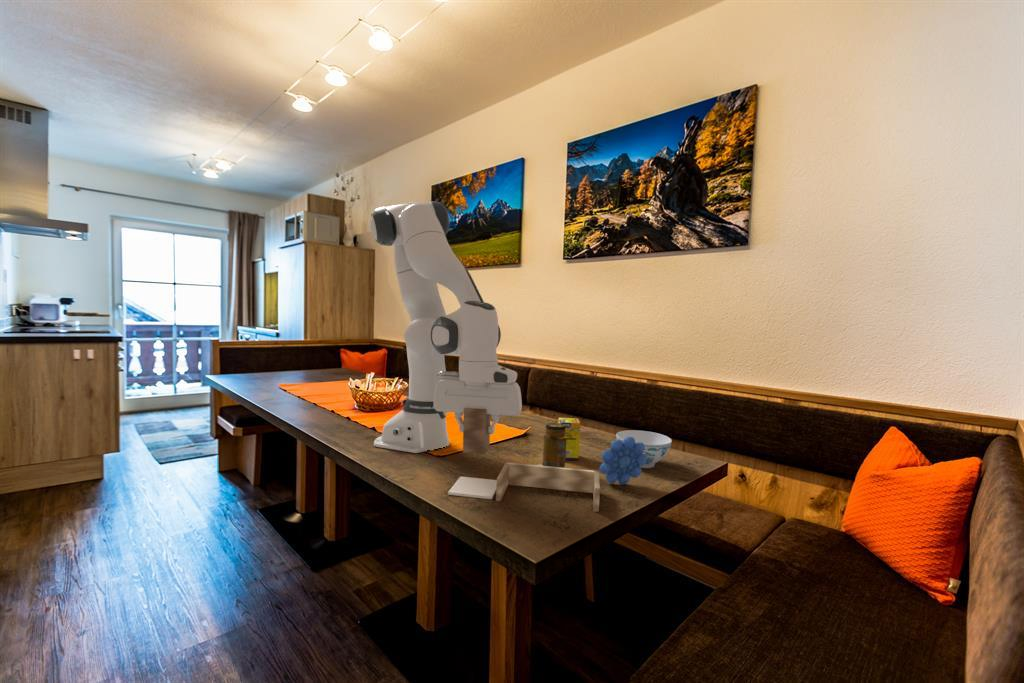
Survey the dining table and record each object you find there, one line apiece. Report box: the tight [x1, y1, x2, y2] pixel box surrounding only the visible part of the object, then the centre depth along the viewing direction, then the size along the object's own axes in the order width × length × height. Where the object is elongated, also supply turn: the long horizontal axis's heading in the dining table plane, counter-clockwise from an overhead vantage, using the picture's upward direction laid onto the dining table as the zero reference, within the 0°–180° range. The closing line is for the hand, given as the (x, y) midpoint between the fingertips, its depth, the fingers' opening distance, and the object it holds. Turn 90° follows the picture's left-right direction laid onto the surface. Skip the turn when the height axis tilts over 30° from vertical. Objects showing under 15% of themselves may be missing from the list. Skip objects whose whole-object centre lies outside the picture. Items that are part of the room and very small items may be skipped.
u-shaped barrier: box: [495, 462, 601, 513], centre depth 102 cm, size 22×11×5 cm, turn 81°
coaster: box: [447, 476, 497, 500], centre depth 105 cm, size 10×10×1 cm
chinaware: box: [615, 429, 673, 469], centre depth 127 cm, size 15×15×8 cm
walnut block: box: [462, 408, 491, 455], centre depth 104 cm, size 5×5×10 cm
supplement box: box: [557, 417, 581, 462], centre depth 131 cm, size 6×6×11 cm
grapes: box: [599, 437, 647, 485], centre depth 112 cm, size 12×7×12 cm, turn 92°
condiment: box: [537, 422, 567, 468], centre depth 119 cm, size 7×8×12 cm
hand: (476, 432), depth 104 cm, fingers closed on walnut block, 5 cm apart
